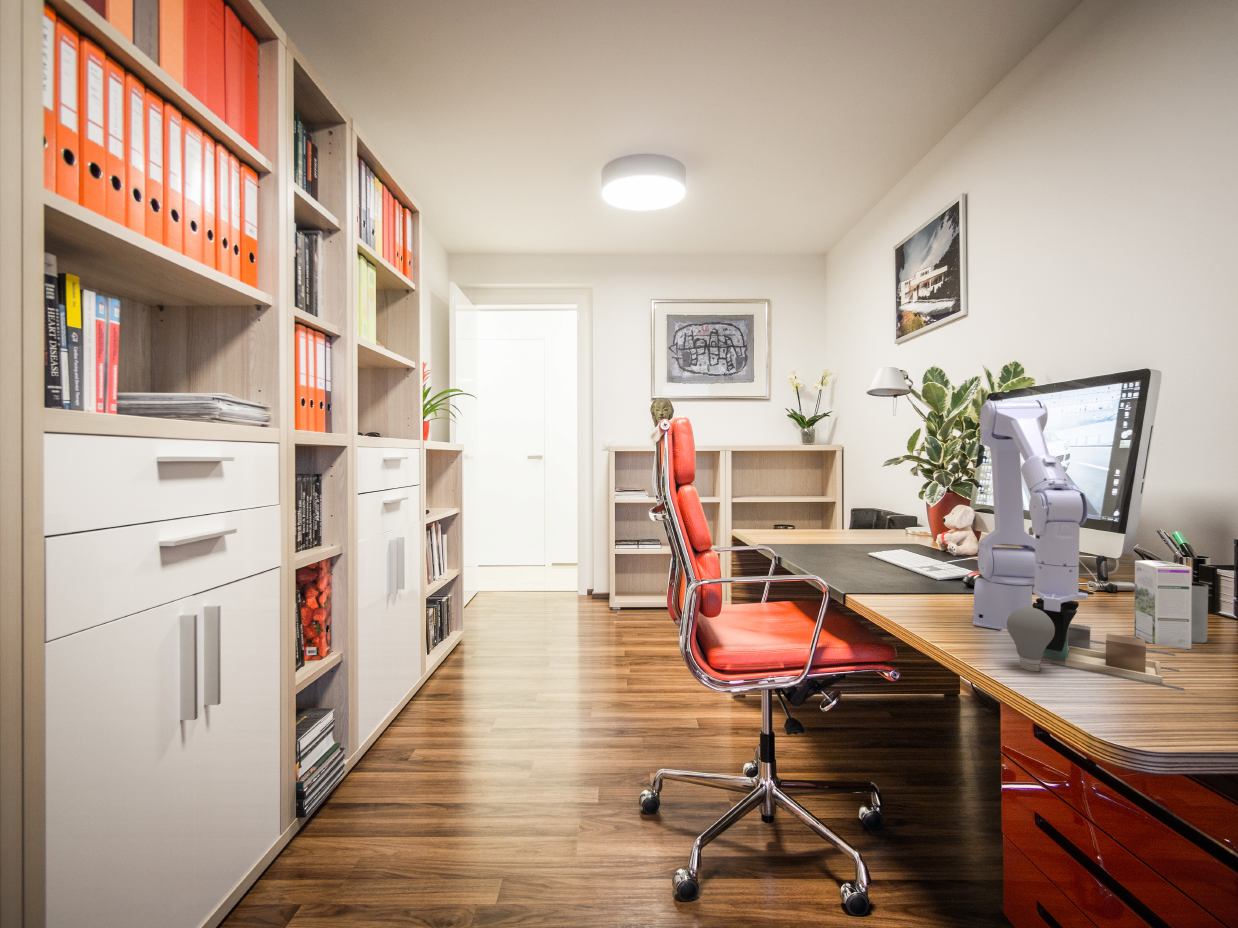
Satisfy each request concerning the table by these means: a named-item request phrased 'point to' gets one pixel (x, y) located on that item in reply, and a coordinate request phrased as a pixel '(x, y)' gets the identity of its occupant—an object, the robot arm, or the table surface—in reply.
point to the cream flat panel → (1079, 636)
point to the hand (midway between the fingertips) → (1054, 646)
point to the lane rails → (1126, 677)
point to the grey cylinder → (1199, 612)
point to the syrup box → (1163, 603)
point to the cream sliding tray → (1102, 663)
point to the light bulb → (1030, 635)
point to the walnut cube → (1125, 653)
